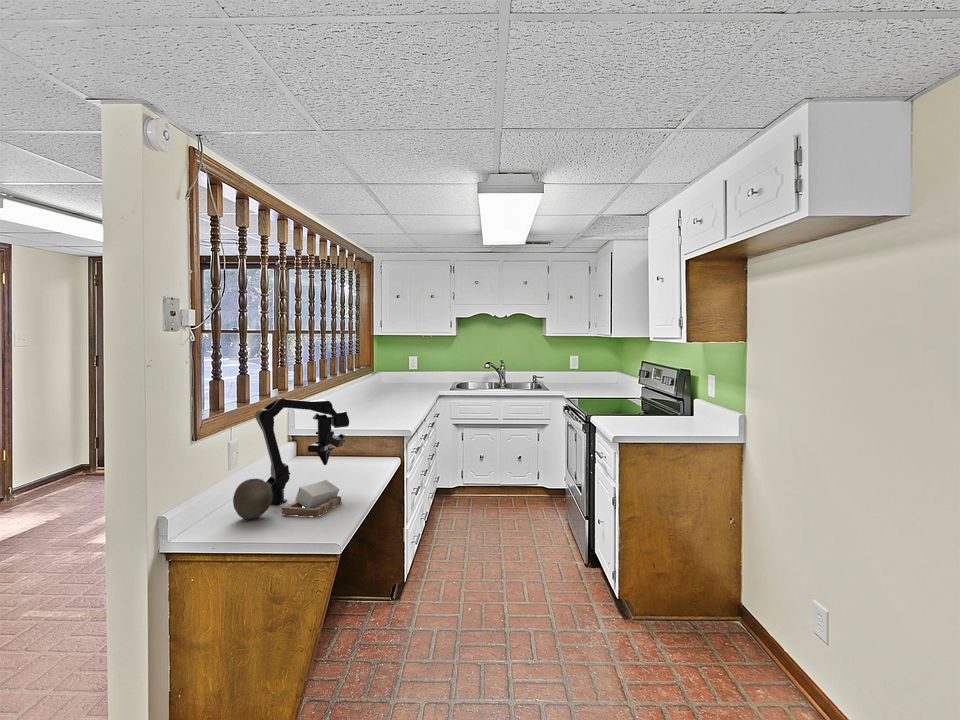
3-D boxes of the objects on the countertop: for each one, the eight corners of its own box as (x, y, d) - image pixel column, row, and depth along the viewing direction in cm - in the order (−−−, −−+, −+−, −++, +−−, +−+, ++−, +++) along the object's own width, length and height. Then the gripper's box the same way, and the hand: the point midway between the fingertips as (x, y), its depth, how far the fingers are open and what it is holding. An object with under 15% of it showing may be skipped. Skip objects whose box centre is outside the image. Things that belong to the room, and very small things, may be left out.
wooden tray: (317, 517, 232) (316, 510, 231) (281, 515, 235) (281, 507, 235) (341, 503, 250) (341, 496, 250) (308, 501, 254) (308, 494, 254)
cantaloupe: (231, 526, 224) (230, 485, 223) (235, 515, 237) (234, 476, 236) (272, 522, 227) (271, 482, 227) (274, 511, 241) (272, 473, 240)
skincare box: (322, 492, 257) (294, 500, 243) (326, 478, 256) (298, 486, 242) (336, 502, 253) (308, 511, 240) (340, 488, 252) (313, 496, 238)
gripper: (329, 433, 253) (330, 470, 254) (351, 426, 271) (352, 461, 272) (306, 432, 256) (307, 469, 257) (329, 425, 274) (330, 460, 275)
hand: (325, 464), depth 265 cm, fingers closed
